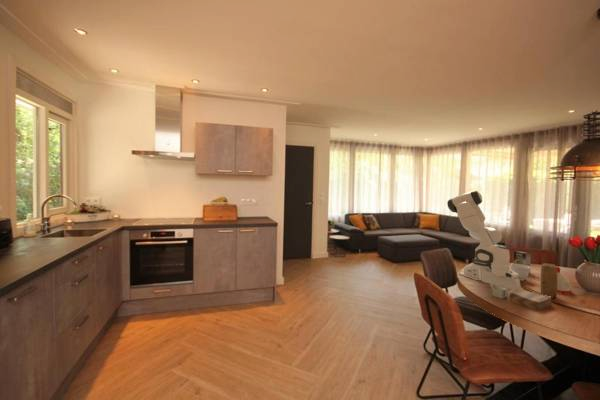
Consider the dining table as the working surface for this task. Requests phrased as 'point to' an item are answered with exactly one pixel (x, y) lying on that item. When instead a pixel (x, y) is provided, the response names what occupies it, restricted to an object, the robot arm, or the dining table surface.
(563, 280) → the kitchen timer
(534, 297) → the walnut base block
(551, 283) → the block
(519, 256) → the coffee box
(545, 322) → the dining table surface
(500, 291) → the sage cube
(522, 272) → the teacup
